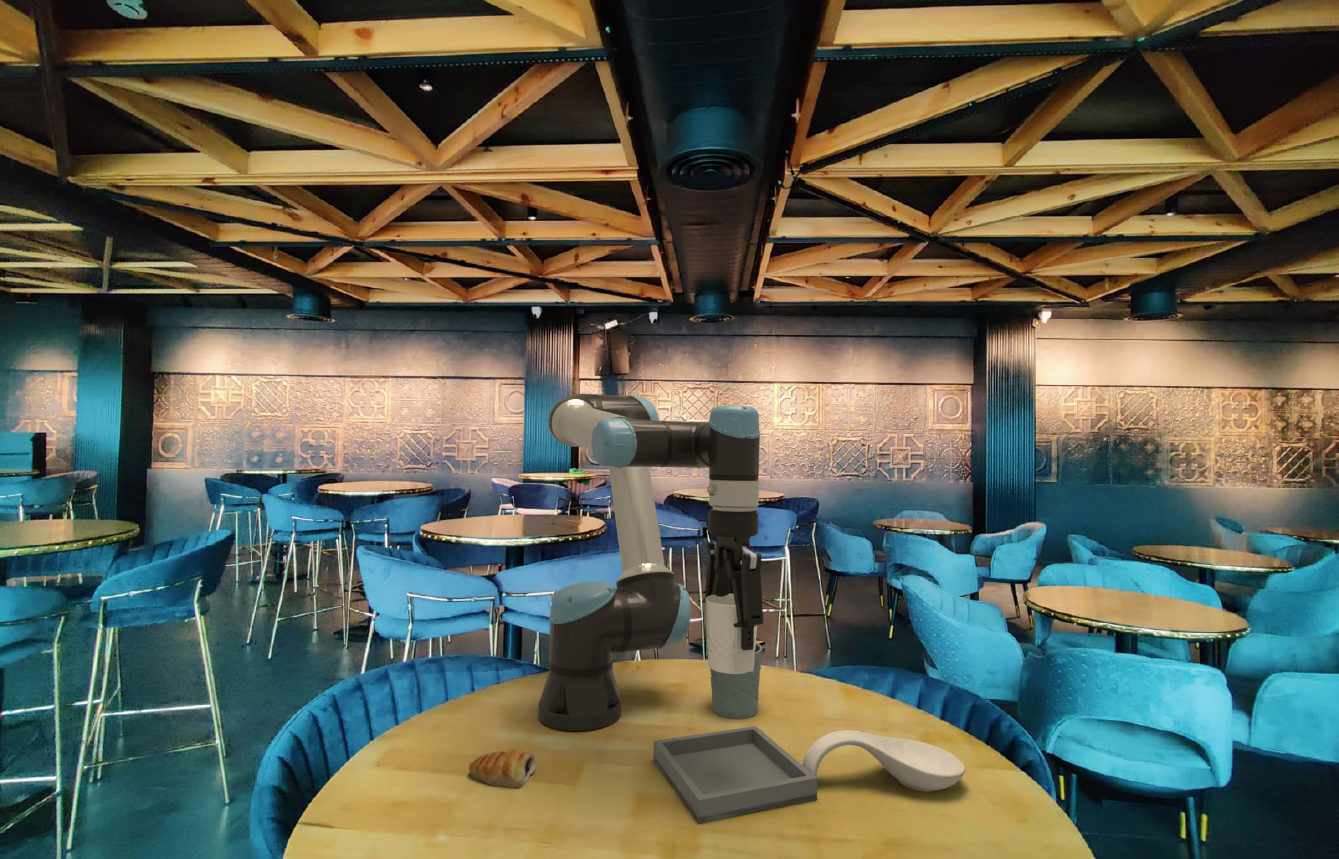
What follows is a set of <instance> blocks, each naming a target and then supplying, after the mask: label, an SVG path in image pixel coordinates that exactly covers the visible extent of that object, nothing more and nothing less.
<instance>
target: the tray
mask: <svg viewBox="0 0 1339 859" xmlns="http://www.w3.org/2000/svg"><path fill="white" fill-rule="evenodd" d="M653 762H654V763H655V765H656V766H657V767H658V769H659V771H660V772H661V773H662V774H663V776H664V777H665V779H666V780H667V782H669V784H670V786H671V788H673V790H674V792H675V793H676V794H677V795H678V797H679V799H680V800H681V801H682V803H683V804H684V806H685V807H686V809H687V810H688V811H689V812H690V814H691V816H693V818H694V819H695V820H696V822H697V823H698V824H705V823H709V822H714V821H719V820H724V819H729V818H733V817H739V816H744V815H748V814H754V813H759V812H763V811H768V810H773V809H778V808H783V807H784V808H785V807H788V806H789V807H790V806H793V805H798V804H803V803H809V802H814V801H818V777H816V776H814V775H813V774H812V773H811V772H810V771H808V770H807V769H806V768H805V767H804V766H803V765H802V764H801V763H800V762H799V761H798V760H796V758H794V757H793V756H792V755H791V754H790V753H789V752H787V751H786V750H785V749H784V748H783V747H782V746H780V745H779V744H778V743H776V742H775V741H774V740H773V739H772V738H771V737H770V736H769V735H767V734H766V733H765V732H764V731H762V730H761V729H760V728H759V727H757V725H755V726H754V725H753V726H746V727H740V728H734V729H733V728H732V729H726V730H720V731H711V732H705V733H699V734H693V735H687V736H679V737H672V738H666V739H659V740H653Z"/></svg>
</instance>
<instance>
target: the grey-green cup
mask: <svg viewBox="0 0 1339 859" xmlns="http://www.w3.org/2000/svg"><path fill="white" fill-rule="evenodd" d="M754 653H755V655H754V670H753V671H751V672H747V673H742V674H726V673H721V672H717V671H714V670H712V669H711V668H710V667H709V671H710V686H711V704H712V710H713V712H714V713H715V714H716V715H717V716H720V717H722V718H726V719H730V720H731V719H733V720H745V719H749V718H752V717H754V716H756V715H757V713H758V712H759V710H758V709H759V695H760V694H759V691H760V689H759V688H760V679H761V677H760V676H761V667H762V666H761V664H762V656H763V654H762V653H763V646H762V645H761V644H759V643H758V642H756V647H755V651H754Z"/></svg>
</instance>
